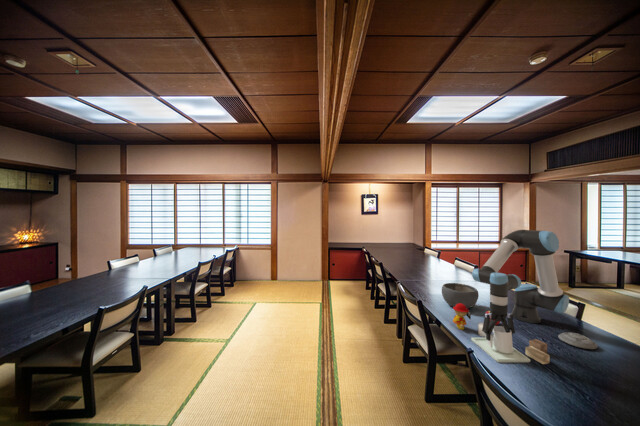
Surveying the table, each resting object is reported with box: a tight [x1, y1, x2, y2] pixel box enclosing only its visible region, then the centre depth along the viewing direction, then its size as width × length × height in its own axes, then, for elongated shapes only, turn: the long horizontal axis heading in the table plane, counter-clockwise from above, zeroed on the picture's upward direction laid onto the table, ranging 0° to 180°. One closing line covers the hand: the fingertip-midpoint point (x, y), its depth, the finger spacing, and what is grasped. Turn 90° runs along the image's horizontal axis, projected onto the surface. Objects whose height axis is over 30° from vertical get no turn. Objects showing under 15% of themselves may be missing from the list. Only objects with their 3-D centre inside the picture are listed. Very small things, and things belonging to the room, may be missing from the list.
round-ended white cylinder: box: [477, 322, 486, 338], centre depth 142 cm, size 5×5×6 cm
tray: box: [470, 337, 531, 363], centre depth 126 cm, size 16×20×2 cm
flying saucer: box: [557, 331, 598, 350], centre depth 133 cm, size 15×15×6 cm
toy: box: [452, 303, 472, 331], centre depth 151 cm, size 11×9×15 cm
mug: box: [484, 325, 514, 354], centre depth 126 cm, size 12×8×10 cm, turn 60°
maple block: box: [524, 346, 550, 365], centre depth 119 cm, size 4×8×4 cm, turn 12°
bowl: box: [441, 282, 480, 309], centre depth 185 cm, size 24×24×15 cm
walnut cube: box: [528, 338, 548, 354], centre depth 125 cm, size 5×5×5 cm
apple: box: [485, 310, 501, 326], centre depth 156 cm, size 8×8×10 cm
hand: (498, 346), depth 126 cm, fingers open, 8 cm apart
